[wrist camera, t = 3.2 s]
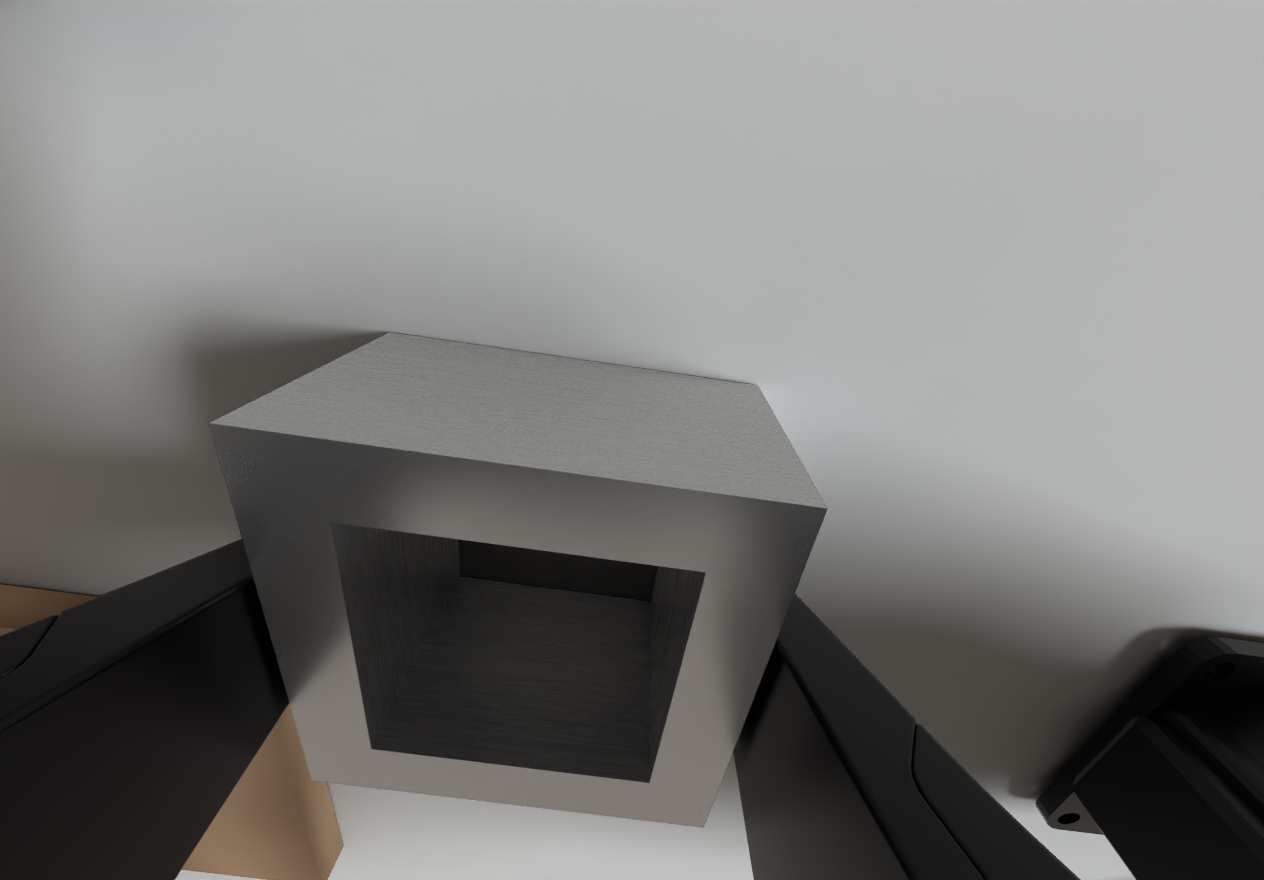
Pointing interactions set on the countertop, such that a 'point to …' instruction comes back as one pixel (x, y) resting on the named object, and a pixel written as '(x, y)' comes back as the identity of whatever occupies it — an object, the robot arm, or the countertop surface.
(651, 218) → the countertop surface
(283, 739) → the keeper
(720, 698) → the grey square socket
